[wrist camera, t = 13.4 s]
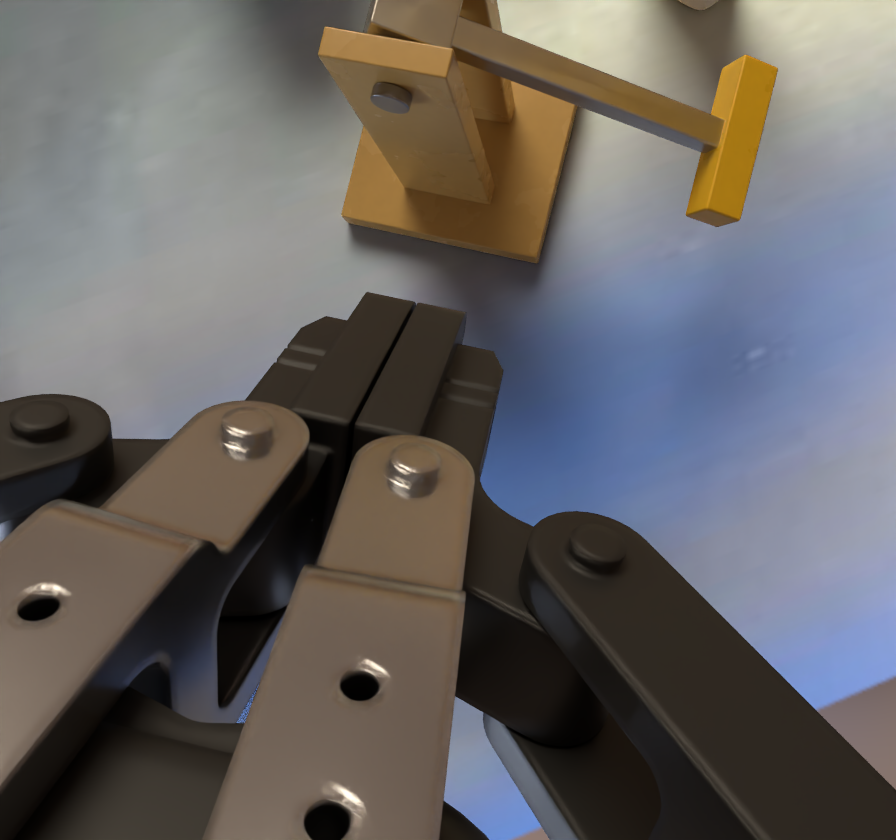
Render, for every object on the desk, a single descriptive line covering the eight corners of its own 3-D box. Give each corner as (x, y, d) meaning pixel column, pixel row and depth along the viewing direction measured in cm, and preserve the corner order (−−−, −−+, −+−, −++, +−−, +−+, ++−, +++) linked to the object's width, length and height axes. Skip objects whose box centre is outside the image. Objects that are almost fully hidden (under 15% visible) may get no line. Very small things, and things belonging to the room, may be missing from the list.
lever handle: (747, 84, 32) (787, 63, 30) (711, 230, 32) (747, 219, 30) (386, -63, 28) (400, -101, 26) (345, 102, 28) (355, 79, 26)
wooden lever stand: (582, 86, 40) (587, -125, 25) (538, 264, 40) (516, 156, 25) (390, 52, 41) (289, -166, 27) (347, 223, 41) (223, 99, 27)
